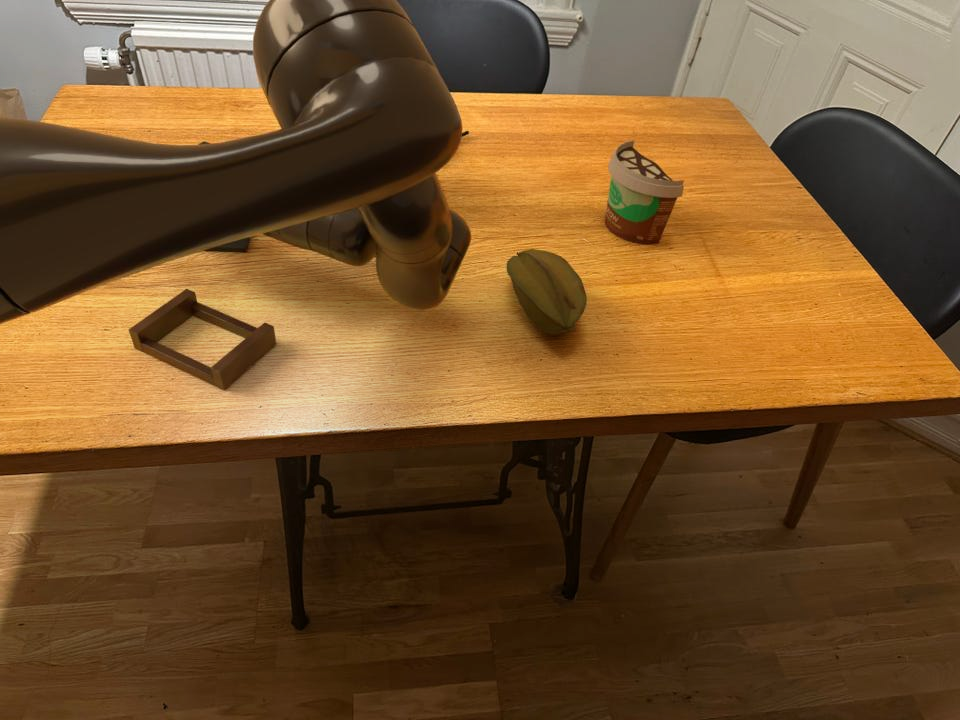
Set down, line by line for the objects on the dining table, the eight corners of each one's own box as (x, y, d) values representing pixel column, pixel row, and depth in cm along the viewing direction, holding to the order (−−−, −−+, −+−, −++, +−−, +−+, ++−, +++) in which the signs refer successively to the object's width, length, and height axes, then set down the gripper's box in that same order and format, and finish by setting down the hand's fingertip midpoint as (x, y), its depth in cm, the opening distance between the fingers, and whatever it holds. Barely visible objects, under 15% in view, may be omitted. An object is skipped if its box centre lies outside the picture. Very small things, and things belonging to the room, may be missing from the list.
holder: (224, 390, 68) (220, 372, 66) (134, 347, 71) (128, 329, 69) (276, 343, 73) (274, 326, 72) (191, 306, 77) (186, 288, 75)
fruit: (601, 302, 84) (613, 257, 79) (565, 360, 76) (576, 314, 71) (515, 271, 87) (522, 226, 82) (472, 324, 79) (477, 277, 74)
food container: (579, 209, 99) (593, 143, 93) (615, 202, 102) (631, 138, 95) (627, 257, 92) (646, 189, 85) (665, 249, 94) (686, 182, 87)
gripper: (328, 149, 77) (212, 110, 81) (241, 205, 67) (115, 158, 71) (332, 209, 82) (222, 169, 86) (252, 269, 72) (133, 221, 76)
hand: (174, 164), depth 79 cm, fingers open, 8 cm apart
